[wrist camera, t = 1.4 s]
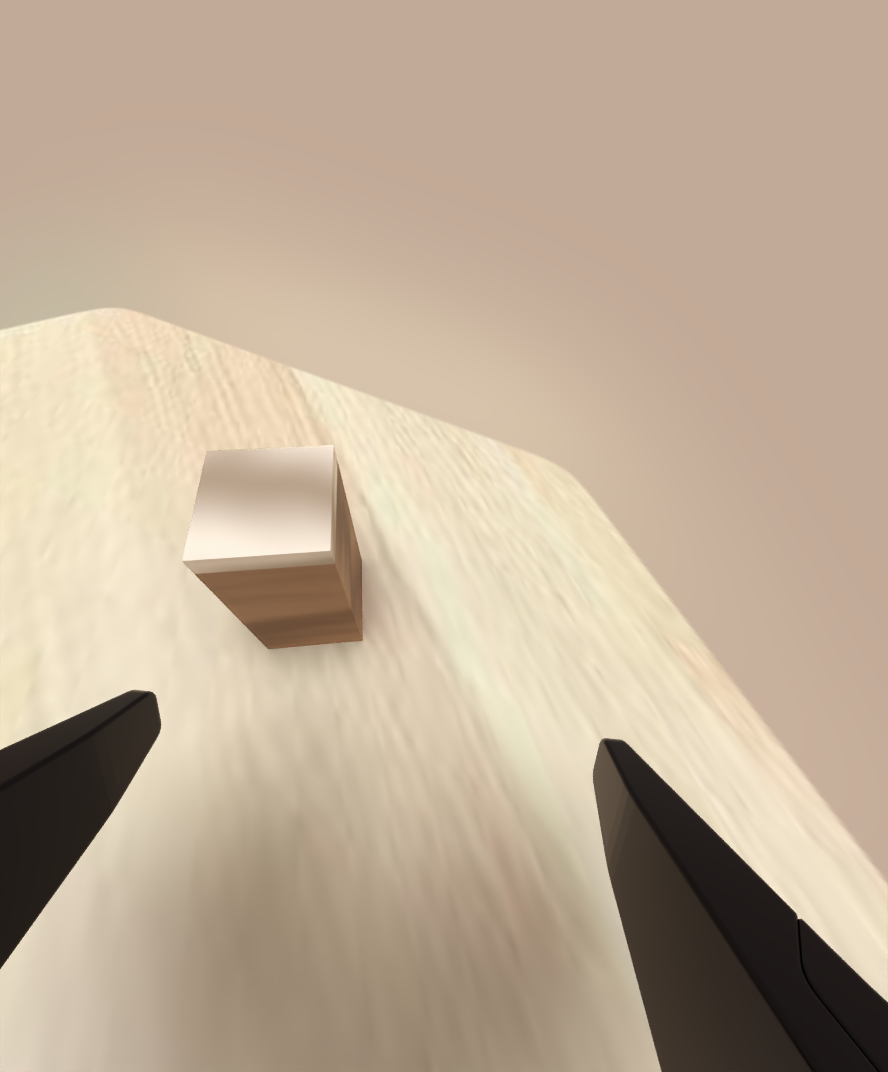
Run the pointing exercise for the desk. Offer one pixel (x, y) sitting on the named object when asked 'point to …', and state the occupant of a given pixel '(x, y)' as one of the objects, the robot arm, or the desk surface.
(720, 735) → the desk surface
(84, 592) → the desk surface
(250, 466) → the beige tall block
